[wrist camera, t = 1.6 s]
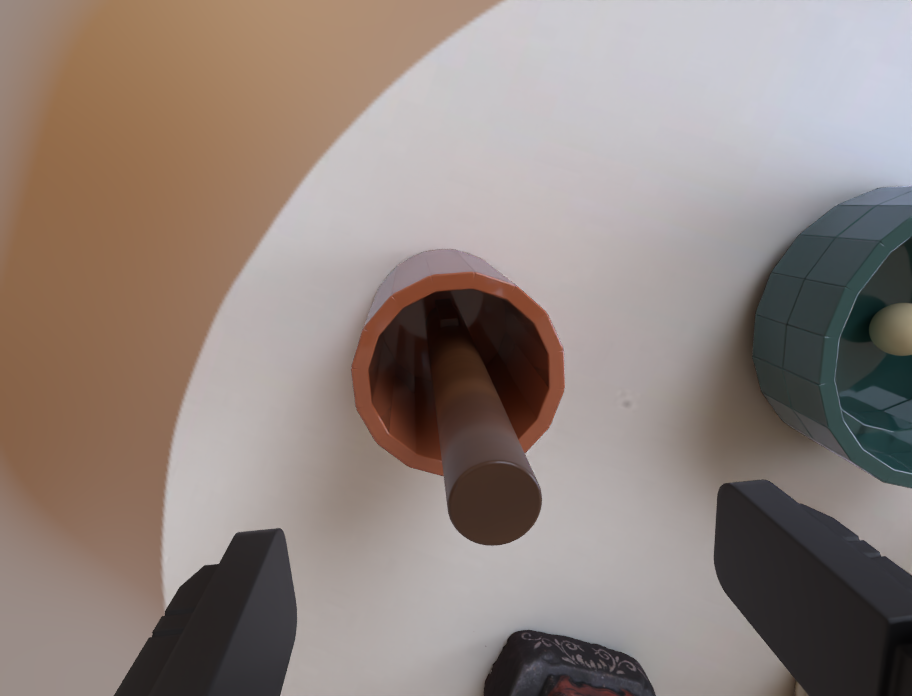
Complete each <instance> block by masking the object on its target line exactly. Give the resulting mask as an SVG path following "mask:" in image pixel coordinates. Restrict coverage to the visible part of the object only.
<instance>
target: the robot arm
mask: <svg viewBox="0 0 912 696" xmlns="http://www.w3.org/2000/svg"><path fill="white" fill-rule="evenodd" d="M714 564H715V570H716V574H717V577H718V580H719V582H720V584H721V586H722V588H723V590H724V592H725V593H726V594H727V596H728V597H729V598H730V599H731V601H732V602H733V603H734V604H735V605H736V607H737V608H738V609H739V610H740V612H741V613H742V614H743V615H744V617H745V618H746V619H747V620H748V622H749V623H750V624H751V625H752V626H753V628H754V629H755V630H756V631H757V633H758V634H759V635H760V636H761V638H762V639H763V640H764V641H765V642H766V644H767V645H768V646H769V647H770V649H771V650H772V651H773V652H774V654H775V655H776V656H777V657H778V658H779V660H780V661H781V662H782V663H783V665H784V666H785V667H786V668H787V670H788V671H789V672H790V673H791V674H792V676H793V677H794V678H795V679H796V681H797V682H798V683H799V684H800V686H801V687H802V688H803V689H804V690H805V692H806V693H807V694H808V695H809V696H912V576H911V575H910V574H909V573H907V572H906V571H905V570H903V569H902V568H900V567H899V566H898V565H896V564H895V563H894V562H892V561H891V560H890V559H888V558H887V557H886V556H883V557H881V555H880V552H879V551H877V550H876V549H875V548H873V547H872V546H871V545H869V544H868V543H867V542H865V541H864V540H861V541H860V540H859V538H858V536H857V535H856V534H854V533H853V532H852V531H850V530H849V529H848V528H846V527H845V526H844V525H842V524H841V523H840V522H838V521H837V520H835V519H834V518H832V517H830V516H828V515H826V514H823V513H821V512H819V511H817V510H815V509H812V508H810V507H808V506H806V505H803V504H799V503H797V502H796V501H795V500H794V499H792V498H791V497H790V496H788V495H787V494H786V493H784V492H783V491H782V490H781V489H779V488H778V487H777V486H775V485H774V484H773V483H771V482H770V481H768V480H753V481H744V482H734V483H725V484H723V485H722V486H721V487H720V489H719V491H718V496H717V511H716V528H715V546H714ZM296 627H297V607H296V598H295V592H294V586H293V580H292V574H291V568H290V562H289V556H288V550H287V544H286V539H285V535H284V532H283V530H282V529H281V528H276V529H267V530H257V531H247V532H238V533H236V534H235V536H234V537H233V539H232V541H231V543H230V544H229V546H228V548H227V550H226V552H225V554H224V556H223V557H222V559H221V561H220V563H219V564H215V565H205V566H203V567H202V568H201V569H200V570H199V571H198V572H197V573H195V574H194V575H193V576H192V577H191V578H190V579H189V580H187V581H186V582H185V583H184V584H183V585H182V586H180V588H179V589H178V591H177V592H176V594H175V596H174V597H173V599H172V601H171V602H170V604H169V606H168V607H167V609H166V611H165V616H162V617H161V619H160V621H159V622H158V624H157V625H156V627H155V629H154V630H153V632H152V633H153V635H152V637H150V638H149V639H148V640H147V642H146V644H145V645H144V647H143V648H142V650H141V652H140V653H139V655H138V657H137V658H136V660H135V662H134V663H133V665H132V667H131V668H130V670H129V672H128V673H127V675H126V676H125V678H124V680H123V681H122V683H121V685H120V686H119V688H118V690H117V691H116V693H115V695H114V696H280V694H281V690H282V686H283V683H284V679H285V675H286V671H287V668H288V664H289V660H290V656H291V653H292V649H293V645H294V641H295V636H296Z"/></svg>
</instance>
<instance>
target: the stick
mask: <svg viewBox="0 0 912 696" xmlns="http://www.w3.org/2000/svg"><path fill="white" fill-rule="evenodd" d="M435 306H436V307H435V308H433V309H432V310H431V311H430V312H429V314H428V315H427V318H426V322H425V325H426V334H427V342H428V350H429V359H430V367H431V375H432V383H433V392H434V400H435V408H436V416H437V425H438V433H439V441H440V449H441V458H442V466H443V474H444V483H445V491H446V499H447V507H448V514H449V517H450V520H451V522H452V524H453V525H454V527H455V528H456V529H457V530H458V532H459V533H461V534H462V535H463V536H464V537H466V538H467V539H469V540H471V541H473V542H475V543H478V544H482V545H491V546H492V545H502V544H506V543H510V542H512V541H514V540H516V539H518V538H520V537H521V536H523V535H524V534H525V533H526V532H528V531H529V530H530V528H531V527H532V526H533V525H534V523H535V522H536V520H537V518H538V516H539V513H540V510H541V505H542V494H541V489H540V486H539V484H538V482H537V479H536V477H535V475H534V473H533V471H532V468H531V466H530V464H529V462H528V460H527V457H526V455H525V453H524V451H523V449H522V446H521V444H520V442H519V440H518V438H517V435H516V433H515V431H514V429H513V427H512V424H511V422H510V420H509V418H508V416H507V413H506V411H505V409H504V407H503V405H502V402H501V400H500V398H499V396H498V394H497V391H496V389H495V387H494V385H493V383H492V380H491V378H490V376H489V374H488V372H487V369H486V367H485V365H484V363H483V361H482V358H481V356H480V354H479V352H478V350H477V347H476V345H475V343H474V341H473V339H472V336H471V334H470V332H469V330H468V328H467V326H466V323H465V321H464V319H463V317H462V315H461V313H460V312H459V311H458V310H457V309H456V308H455V307H453V304H452V302H451V299H438V300H435Z"/></svg>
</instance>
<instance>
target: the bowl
mask: <svg viewBox="0 0 912 696" xmlns="http://www.w3.org/2000/svg"><path fill="white" fill-rule="evenodd" d="M896 303H911V304H912V186H898V187H884V188H877V189H875V190H872V191H870V192H867V193H865V194H862V195H860V196H858V197H855V198H853V199H850V200H848V201H845V202H843V203H840V204H838V205H836V206H835V207H833V208H832V209H831V210H830V211H828V212H827V213H826V214H825V215H823V216H822V217H821V218H820V219H818V220H817V221H816V222H815V223H813V224H812V225H811V226H809V227H808V228H807V229H806V230H804V231H803V232H802V233H801V234H800V235H799V236H798V237H797V238H796V239H795V241H794V242H793V243H792V245H791V246H790V248H789V249H788V250H787V252H786V253H785V254H784V256H783V257H782V258H781V260H780V261H779V262H778V264H777V265H776V267H775V268H774V269H773V271H772V273H771V274H770V277H769V279H768V282H767V284H766V287H765V290H764V292H763V295H762V297H761V300H760V303H759V305H758V308H757V311H756V313H755V314H756V315H755V326H754V339H753V353H752V354H753V356H752V357H753V361H754V365H755V369H756V372H757V376H758V380H759V384H760V388H761V391H762V393H763V395H764V396H765V397H766V399H767V400H768V402H769V403H770V404H771V406H772V407H773V409H774V410H775V411H776V413H777V414H778V416H779V417H780V419H781V420H782V421H783V422H784V423H786V424H788V425H789V426H791V427H792V428H794V429H795V430H797V431H798V432H800V433H801V434H803V435H805V436H806V437H808V438H809V439H811V440H812V441H814V442H816V443H817V444H819V445H821V446H823V447H824V448H826V449H828V450H829V451H831V452H833V453H834V454H836V455H838V456H839V457H841V458H843V459H844V460H846V461H848V462H850V463H851V464H853V465H855V466H856V467H858V468H860V469H861V470H863V471H865V472H866V473H868V474H870V475H872V476H873V477H875V478H877V479H878V480H880V481H882V482H884V483H888V484H893V485H898V486H902V487H907V488H912V355H908V356H897V355H892V354H888V353H886V352H884V351H882V350H880V349H879V348H878V347H877V346H876V345H875V344H874V343H873V342H872V340H871V338H870V335H869V325H870V322H871V320H872V318H873V317H874V315H875V314H876V313H877V312H878V311H880V310H881V309H883V308H884V307H886V306H889V305H892V304H896Z"/></svg>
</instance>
